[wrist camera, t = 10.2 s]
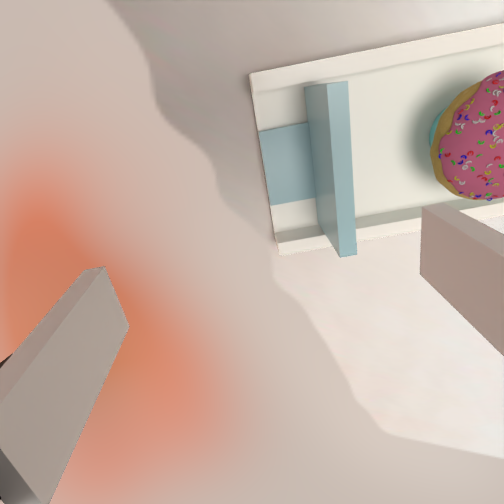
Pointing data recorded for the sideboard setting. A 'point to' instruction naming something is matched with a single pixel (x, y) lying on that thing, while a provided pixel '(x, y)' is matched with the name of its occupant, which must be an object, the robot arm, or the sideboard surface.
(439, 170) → the cupcake
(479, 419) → the sideboard surface
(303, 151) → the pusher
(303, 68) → the white shallow tray
